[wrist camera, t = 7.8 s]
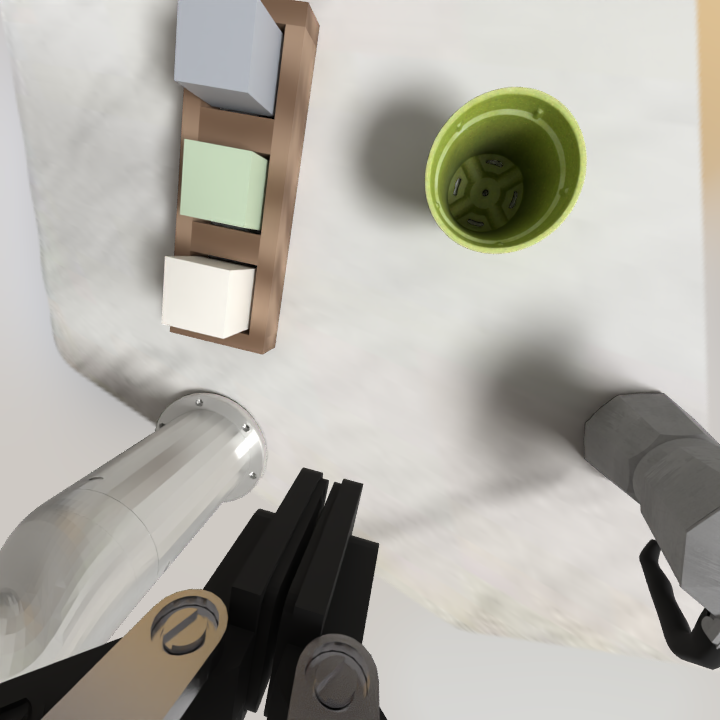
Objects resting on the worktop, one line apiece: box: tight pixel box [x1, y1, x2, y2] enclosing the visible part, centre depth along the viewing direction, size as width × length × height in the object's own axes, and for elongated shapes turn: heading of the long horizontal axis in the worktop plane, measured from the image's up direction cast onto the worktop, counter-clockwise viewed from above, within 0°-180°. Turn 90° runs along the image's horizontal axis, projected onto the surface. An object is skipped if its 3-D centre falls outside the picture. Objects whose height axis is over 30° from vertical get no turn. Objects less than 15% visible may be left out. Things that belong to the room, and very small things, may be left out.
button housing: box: [170, 0, 320, 355], centre depth 34 cm, size 27×9×3 cm, turn 169°
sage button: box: [180, 139, 269, 230], centre depth 33 cm, size 6×6×5 cm
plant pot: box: [425, 87, 587, 254], centre depth 28 cm, size 9×9×9 cm
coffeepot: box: [584, 393, 720, 670], centre depth 27 cm, size 15×9×18 cm, turn 164°
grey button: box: [174, 0, 284, 117], centre depth 29 cm, size 6×6×5 cm
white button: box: [162, 256, 257, 339], centre depth 34 cm, size 6×6×5 cm
